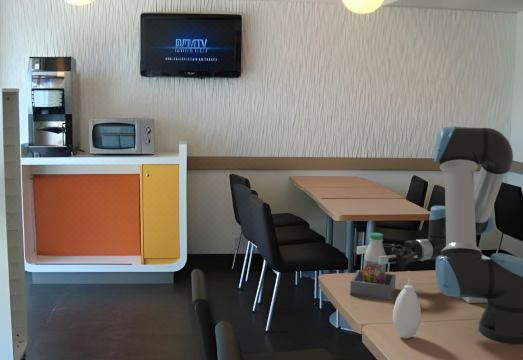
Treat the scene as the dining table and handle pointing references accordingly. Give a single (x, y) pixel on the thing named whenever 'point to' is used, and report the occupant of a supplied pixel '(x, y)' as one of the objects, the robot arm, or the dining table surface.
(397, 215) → the dining table surface
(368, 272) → the milk bottle
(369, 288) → the box
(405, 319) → the white squeeze bottle
